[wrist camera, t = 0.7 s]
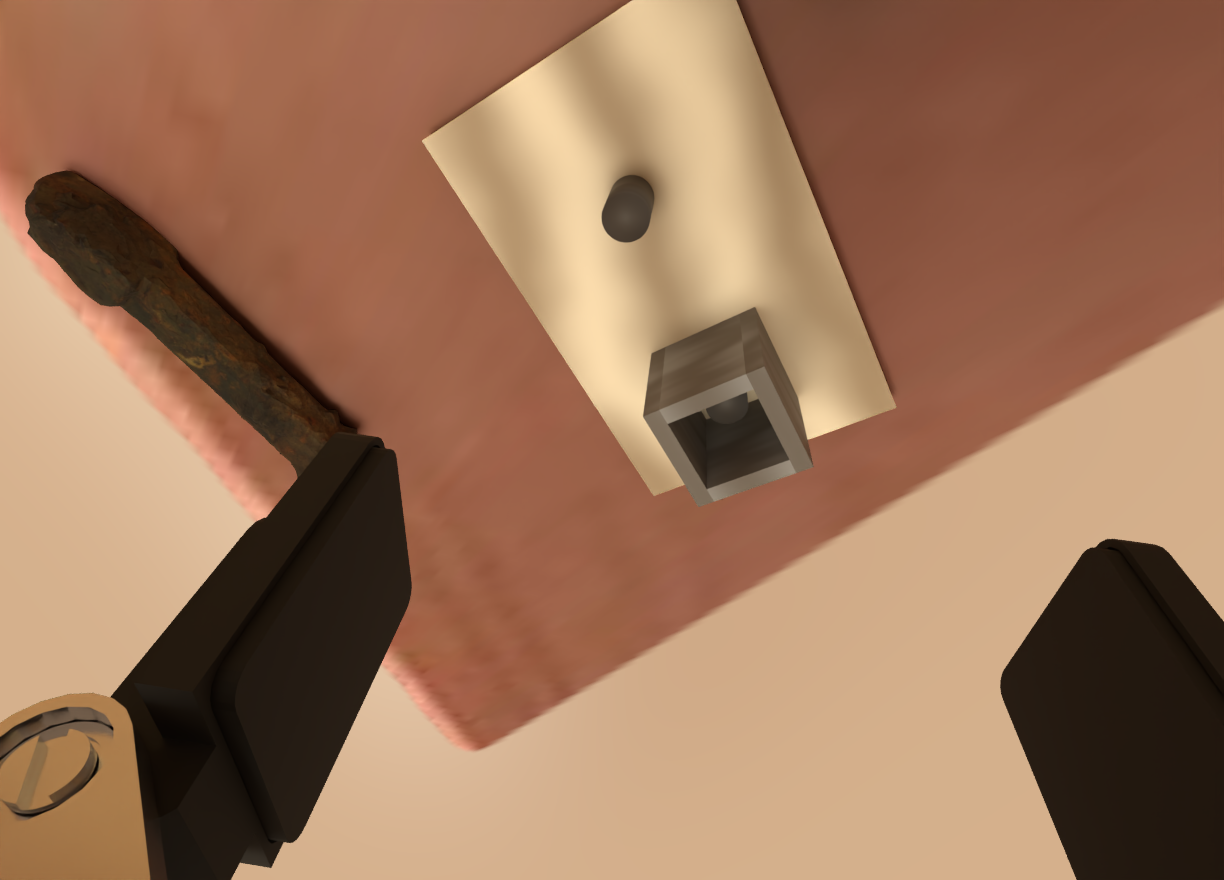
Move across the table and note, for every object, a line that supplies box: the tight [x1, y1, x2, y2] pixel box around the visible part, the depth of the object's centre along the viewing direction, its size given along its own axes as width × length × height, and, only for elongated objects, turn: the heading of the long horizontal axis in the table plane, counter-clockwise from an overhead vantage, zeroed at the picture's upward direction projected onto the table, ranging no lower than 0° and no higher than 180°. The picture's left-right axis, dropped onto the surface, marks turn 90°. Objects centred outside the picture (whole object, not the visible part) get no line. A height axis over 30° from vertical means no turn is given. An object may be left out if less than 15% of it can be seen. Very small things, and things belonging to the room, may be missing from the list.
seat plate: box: [422, 0, 897, 507], centre depth 30 cm, size 14×22×7 cm, turn 29°
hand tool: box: [25, 171, 357, 478], centre depth 36 cm, size 19×4×5 cm, turn 32°
